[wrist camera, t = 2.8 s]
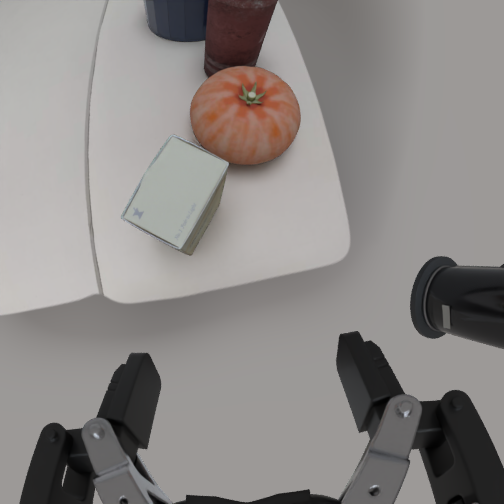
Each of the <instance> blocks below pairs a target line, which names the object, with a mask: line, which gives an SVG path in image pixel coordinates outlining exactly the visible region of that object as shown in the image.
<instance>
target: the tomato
mask: <svg viewBox="0 0 504 504" xmlns="http://www.w3.org/2000/svg"><path fill="white" fill-rule="evenodd" d="M190 117H191V124H192V129H193V131H194V134H195V136H196V138H197V139H198V141H199V142H200V144H201V145H202V146H203V147H204V148H205V149H206V150H208V151H209V152H210V153H212V154H214V155H216V156H217V157H219V158H221V159H223V160H225V161H226V162H229V163H233V164H240V165H253V164H260V163H264V162H267V161H270V160H272V159H274V158H276V157H278V156H279V155H281V154H282V153H283V152H284V151H285V150H286V149H287V148H288V147H289V146H290V145H291V143H292V142H293V140H294V138H295V137H296V134H297V132H298V130H299V126H300V120H301V115H300V108H299V104H298V101H297V99H296V96H295V94H294V93H293V91H292V89H291V88H290V86H289V85H288V84H287V83H285V82H284V81H283V80H282V79H281V78H279V77H278V76H277V75H275V74H273V73H272V72H270V71H267V70H265V69H262V68H259V67H248V66H236V67H230V68H226V69H223V70H221V71H218V72H217V73H215V74H214V75H212V76H211V77H209V78H208V79H207V80H206V81H205V82H204V83H203V84H202V85H201V86H200V88H199V89H198V90H197V92H196V94H195V95H194V97H193V100H192V102H191V108H190Z"/></svg>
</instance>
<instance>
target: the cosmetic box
mask: <svg viewBox="0 0 504 504" xmlns="http://www.w3.org/2000/svg"><path fill="white" fill-rule="evenodd" d="M228 166H229V163H228V162H226V161H225V160H223V159H221V158H219V157H217V156H216V155H214V154H212V153H210V152H208V151H207V150H205V149H203V148H201V147H199V146H197V145H195V144H193V143H191V142H189V141H187V140H185V139H183V138H181V137H179V136H177V135H171V136H170V137H169V138H168V139H167V141H166V142H165V144H164V145H163V146H162V148H161V149H160V151H159V152H158V154H157V155H156V157H155V158H154V160H153V161H152V163H151V164H150V166H149V167H148V169H147V170H146V172H145V174H144V175H143V177H142V179H141V181H140V182H139V184H138V186H137V187H136V189H135V191H134V193H133V195H132V197H131V198H130V200H129V202H128V204H127V206H126V208H125V210H124V212H123V213H122V215H121V219H123V220H124V221H126V222H128V223H129V224H131V225H133V226H134V227H136V228H138V229H139V230H141V231H143V232H145V233H146V234H148V235H150V236H152V237H154V238H156V239H158V240H159V241H161V242H163V243H165V244H167V245H169V246H171V247H173V248H175V249H177V250H179V251H181V252H183V253H185V254H188V255H192V253H193V251H194V250H195V248H196V246H197V244H198V243H199V241H200V239H201V237H202V235H203V234H204V232H205V230H206V228H207V226H208V225H209V223H210V221H211V219H212V217H213V215H214V214H215V212H216V210H217V208H218V206H219V204H220V200H221V196H222V192H223V187H224V183H225V179H226V174H227V171H228Z"/></svg>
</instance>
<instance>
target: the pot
mask: <svg viewBox="0 0 504 504" xmlns="http://www.w3.org/2000/svg"><path fill="white" fill-rule="evenodd" d="M208 1H209V0H144V6H145V12H146V18H147V22H148V26H149V28H150V30H151V31H152V32H153V33H155V34H156V35H158V36H159V37H162V38H164V39H168V40H173V41H182V42H192V41H202V40H206V26H207V13H208Z"/></svg>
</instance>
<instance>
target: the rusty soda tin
mask: <svg viewBox="0 0 504 504" xmlns="http://www.w3.org/2000/svg"><path fill="white" fill-rule="evenodd" d="M277 1H278V0H209V1H208V13H207V26H206V41H205V59H204V70H205V72H206V74H207V75H208V76H209V77H211V76H212V75H214V74H215V73H217V72H218V71H221V70H223V69H226V68H230V67H236V66H248V67H255V65H256V62H257V59H258V56H259V53H260V50H261V47H262V44H263V41H264V38H265V35H266V32H267V29H268V26H269V23H270V20H271V18H272V15H273V12H274V9H275V6H276V4H277Z"/></svg>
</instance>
